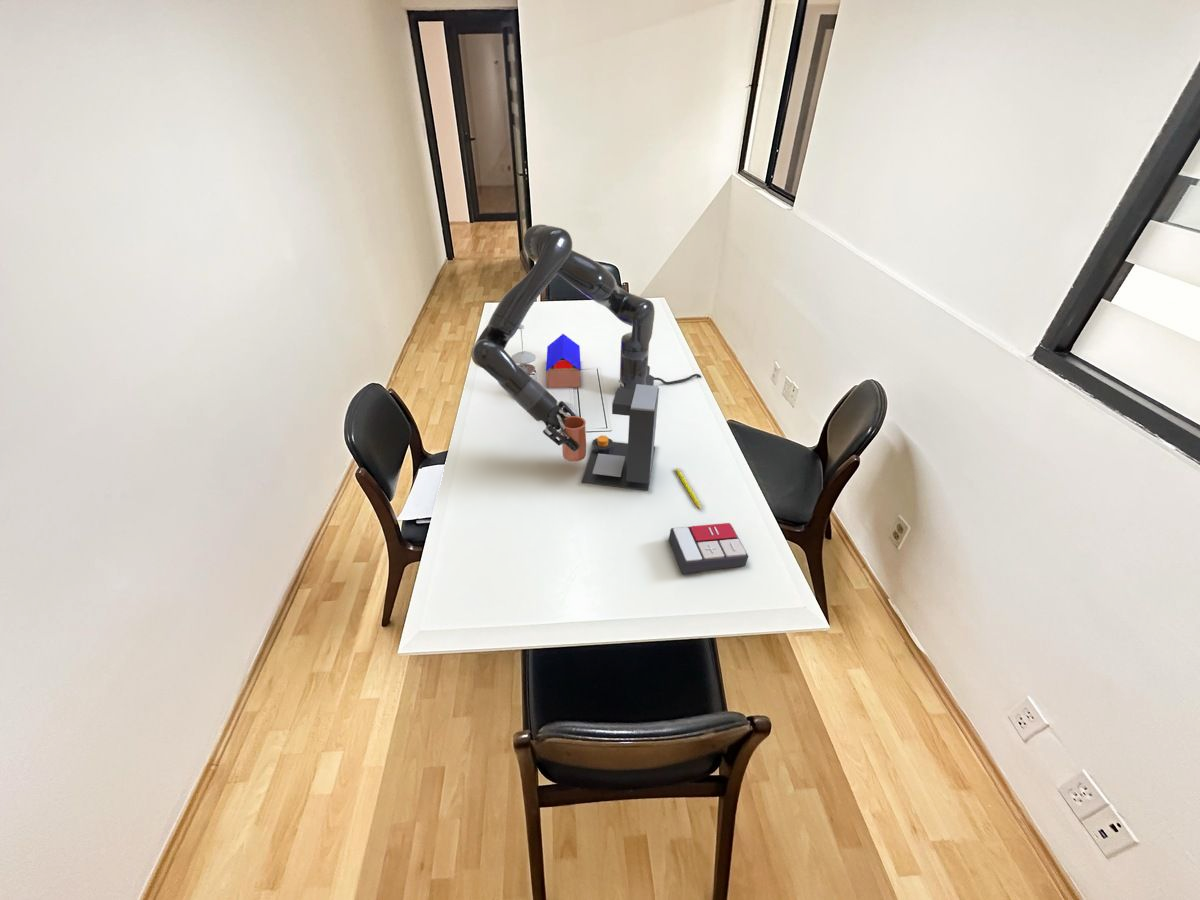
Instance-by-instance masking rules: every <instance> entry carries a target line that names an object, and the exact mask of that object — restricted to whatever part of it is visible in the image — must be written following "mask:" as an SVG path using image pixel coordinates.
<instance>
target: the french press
mask: <svg viewBox="0 0 1200 900" xmlns="http://www.w3.org/2000/svg"><path fill="white" fill-rule="evenodd" d="M523 329H525V326H524V324H522V323H521V324H520V326H519V328H518V329H517V330H520V337H521V340H523V331H522V330H523ZM523 342H524V341H521V349H522V350H521V351H518V352H516V353H514V354H512V355H511V356H510V357H511V358H512V359H513V361H514V362H515V363H516V364H517V365H518V366H520V367H521V368H522V369H523V370H524V371H525V372H526V373H527V374H528V375H529V376H530V377H532V378H533V379H534V380H536V381H538V374H537V373H538V372H537V370H536V366H535V365H533V364H531V363H533V362H534V361H536V358H537V356H536V355H535V354H534V353H533V352H531V351H526V350H524V345H523V344H524V343H523Z"/></svg>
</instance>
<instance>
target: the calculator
mask: <svg viewBox="0 0 1200 900" xmlns="http://www.w3.org/2000/svg"><path fill="white" fill-rule="evenodd" d="M668 542H669V544H670V547H671V549H672V552H673V554H674V557H675V560H676V562H677V565H678V567H679V569H680V572H681V573H682V575H687V574H697V573H701V572H702V571H708V570H718V569H729V568H739V567H745V566H746V565H747V563H748V559H749V554H748V552H747V551H746V549H745V547H744V545H743V544H742V542H741V540H740V538H739V536H738V535H737V532H736V531H735V529H734V527H733V525H732V524H731V523H730V522H724V523H712V524H700V525H691V526H681V527H672V528H670V530H669V535H668Z"/></svg>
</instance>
